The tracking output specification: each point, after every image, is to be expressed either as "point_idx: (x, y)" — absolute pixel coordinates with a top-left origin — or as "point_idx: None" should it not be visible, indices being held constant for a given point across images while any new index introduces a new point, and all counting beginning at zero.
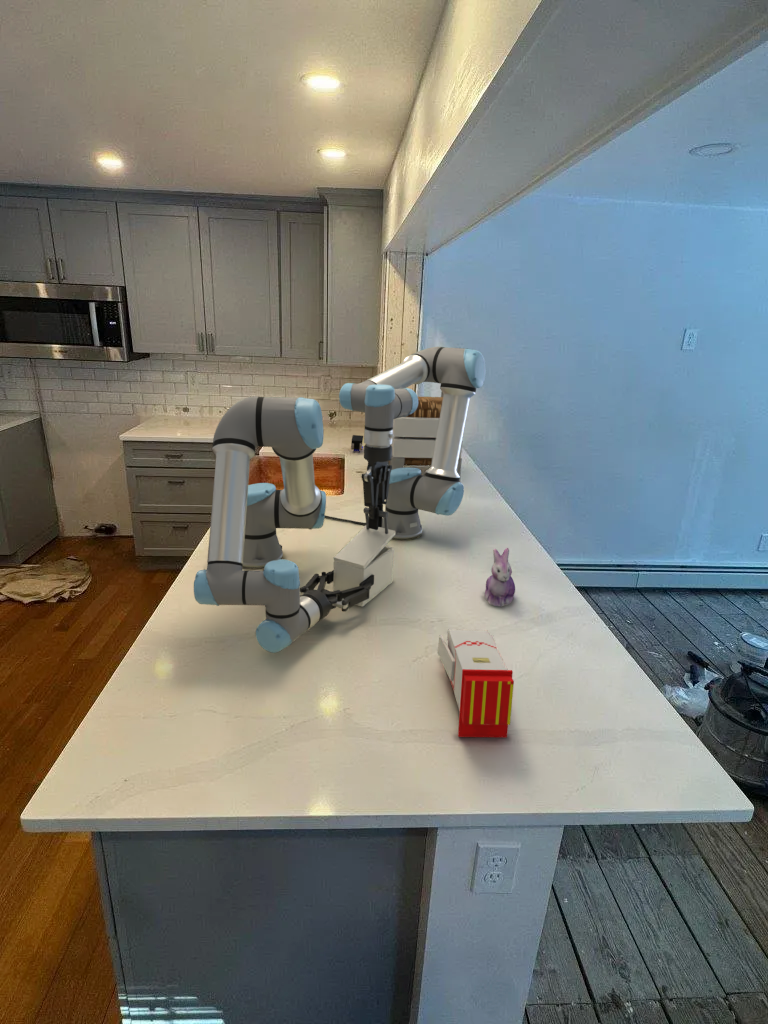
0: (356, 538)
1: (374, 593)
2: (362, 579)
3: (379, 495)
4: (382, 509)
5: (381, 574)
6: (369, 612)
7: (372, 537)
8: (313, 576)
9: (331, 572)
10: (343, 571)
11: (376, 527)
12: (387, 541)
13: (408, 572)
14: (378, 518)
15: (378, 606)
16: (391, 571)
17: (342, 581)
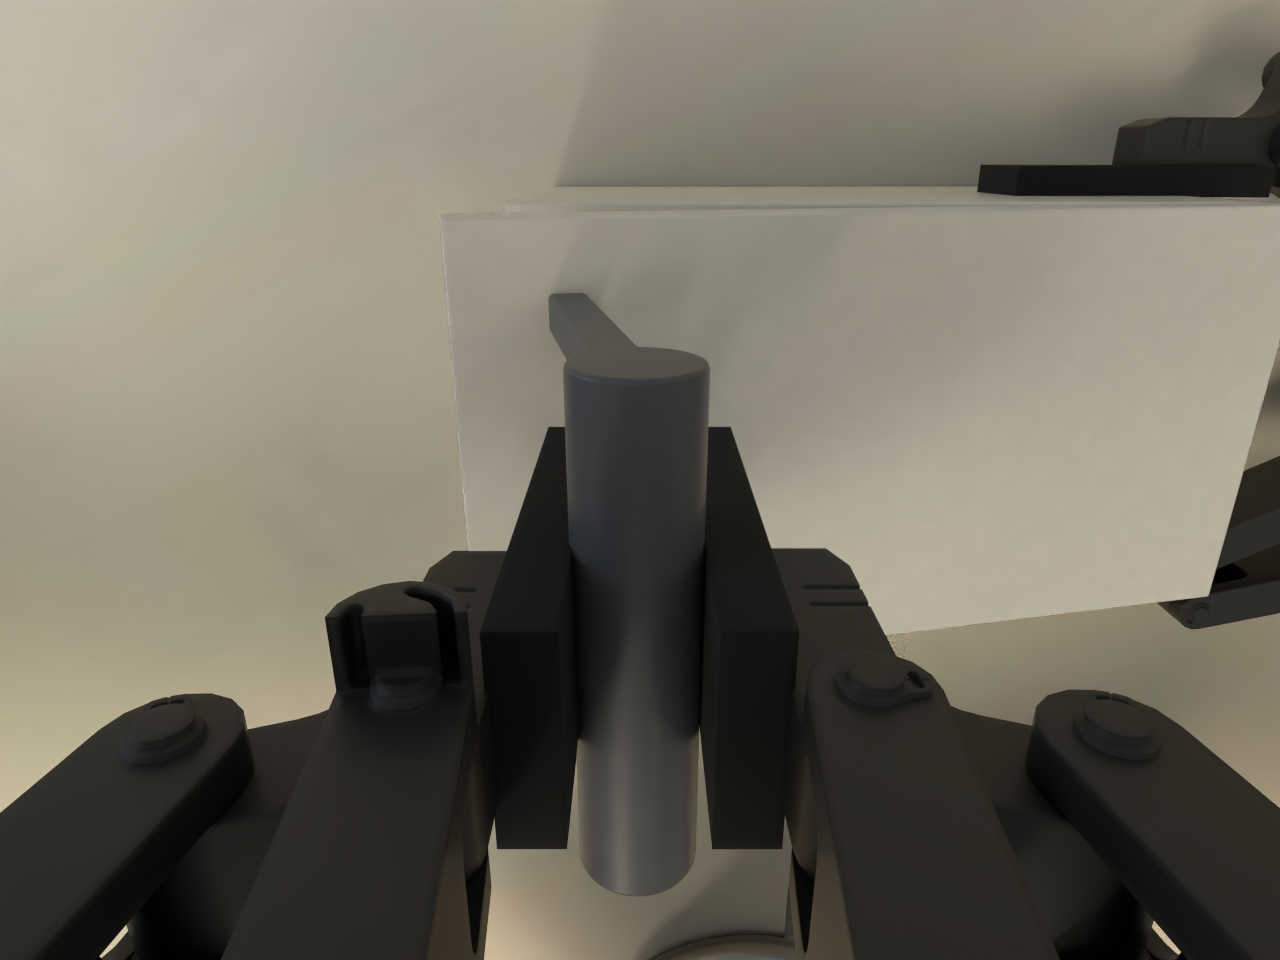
0: None
1: (873, 187)
2: None
3: (454, 956)
4: (517, 569)
5: (783, 192)
6: (1111, 92)
7: (742, 441)
8: (1243, 614)
9: None
10: None
11: (734, 449)
12: (710, 211)
13: (308, 151)
14: (706, 499)
15: (991, 77)
16: (572, 190)
17: None
